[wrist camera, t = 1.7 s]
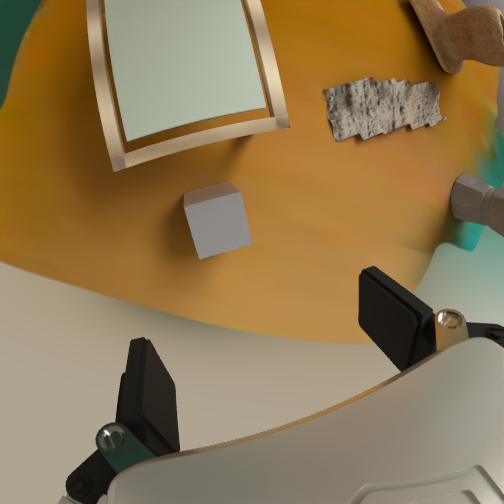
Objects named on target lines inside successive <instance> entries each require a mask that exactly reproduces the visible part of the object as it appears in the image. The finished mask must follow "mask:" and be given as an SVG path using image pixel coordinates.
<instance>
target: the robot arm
mask: <svg viewBox="0 0 504 504" xmlns="http://www.w3.org/2000/svg"><path fill="white" fill-rule="evenodd" d="M358 322H359V325H360V327H361V328H362V329H363V330H364V331H365V333H366V334H367V335H368V336H369V337H370V338H371V339H372V340H373V341H374V342H375V344H376V345H377V346H378V347H379V348H380V349H381V350H382V351H383V352H384V354H385V355H386V356H387V357H388V358H389V359H390V360H391V361H392V362H393V364H394V365H395V366H396V367H397V368H398V369H399V370H400V371H401V373H399V374H397V375H395V376H394V377H392V378H390V379H388V380H386V381H384V382H383V383H381V384H379V385H377V386H375V387H373V388H371V389H369V390H367V391H365V392H363V393H361V394H359V395H357V396H354V397H353V398H350V399H348V400H346V401H344V402H341V403H339V404H337V405H334V406H332V407H330V408H327V409H325V410H323V411H320V412H318V413H315V414H313V415H310V416H308V417H305V418H302V419H300V420H297V421H294V422H291V423H288V424H285V425H282V426H279V427H277V428H273V429H270V430H267V431H264V432H260V433H257V434H254V435H251V436H247V437H243V438H239V439H236V440H231V441H227V442H223V443H219V444H215V445H210V446H206V447H201V448H196V449H192V450H186V451H181V452H179V451H180V443H179V432H178V420H177V409H176V408H177V407H176V389H175V384H174V382H173V380H172V378H171V376H170V375H169V373H168V371H167V370H166V368H165V366H164V364H163V363H162V361H161V359H160V357H159V355H158V354H157V352H156V350H155V348H154V346H153V344H152V343H151V341H150V340H149V339H148V340H146V339H145V338H144V337H142V338H137V339H133V340H131V342H130V347H129V353H128V359H127V365H126V372H125V373H123V374H122V376H121V381H120V388H119V395H118V403H117V412H116V420H115V422H114V423H113V422H112V423H109V424H106V425H104V426H103V427H102V428H101V429H100V430H99V431H98V433H97V435H96V439H95V440H96V446H97V448H98V449H97V450H96V451H95V452H94V453H93V454H92V455H91V456H90V457H88V458H87V459H86V460H85V461H84V462H83V463H82V464H81V465H80V466H79V467H77V469H76V470H74V471H73V472H72V473H71V474H70V475H69V476H68V478H67V480H66V491H67V493H68V494H67V496H66V497H65V496H62V498H61V499H60V501H59V503H58V504H504V327H503V326H501V325H498V324H488V323H487V324H486V323H471V322H466V320H465V318H464V316H463V315H462V314H461V313H460V312H458V311H456V310H454V309H443V310H440V311H439V312H437V314H436V315H435V314H434V313H433V309H432V308H430V307H429V306H428V305H426V304H425V303H424V302H422V301H421V300H420V299H418V298H417V297H416V296H415V295H413V294H412V293H411V292H409V291H408V290H407V289H405V288H404V287H403V286H401V285H400V284H399V283H397V282H396V281H395V280H393V279H392V278H390V277H389V276H388V275H386V274H385V273H384V272H382V271H381V270H379V269H378V268H377V267H375V266H371V267H369V268H366V269H363V270H362V272H361V274H360V275H359V316H358Z"/></svg>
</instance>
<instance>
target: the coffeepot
mask: <svg viewBox="0 0 504 504" xmlns="http://www.w3.org/2000/svg"><path fill="white" fill-rule="evenodd" d="M451 209H452V213H453V215H454V217H455V218H458V219H460V220H462V221H467V222H472V223H477V224H481V225H487V226H490V228H491V229H493V230H494V231H496V232H497V233H499V234H500V235H502V236H503V237H504V188H499V189H496V188H493V187H492V186H490V185H488V184H486V183H485V182H483V181H481V180H479V179H477V178H475V177H473V176H471V175H469V174H467V173H465V172H464V173H463V174H462V175H460V176H459V177H458V178H457V180H456V181H455V183H454V186H453V189H452V193H451Z"/></svg>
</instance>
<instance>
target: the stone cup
mask: <svg viewBox="0 0 504 504" xmlns="http://www.w3.org/2000/svg"><path fill="white" fill-rule="evenodd" d="M409 1H410V3H411V5H412V7H413V9H414V11H415V13H416V15H417V17H418V19H419V21H420V23H421V25H422V27H423V29H424V31H425V33H426V36H427V38H428V40H429V42H430V44H431V46H432V49H433V51H434V53H435V55H436V57H437V59H438V61H439V63H440V65H441V67H442V68H443V70H444V71H446V72H448V73H453V74H454V73H458V72H460V71H461V70H462V69H463V67H464V60H475V61H478V62H481V63H484V64H487V65H491V66H500V67H504V17H503V15H502V14H501V12H500V11H499V10H498V9H497V8H495V7H493V6H488V5H475V6H471V7H468V8H466V9H463V10H461V11H459V12H457V13H453V14H449V13H446V12H445V11H444V9H443V8H442V6H441V4H440V3H439V2H438V1H436V0H409Z"/></svg>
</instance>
